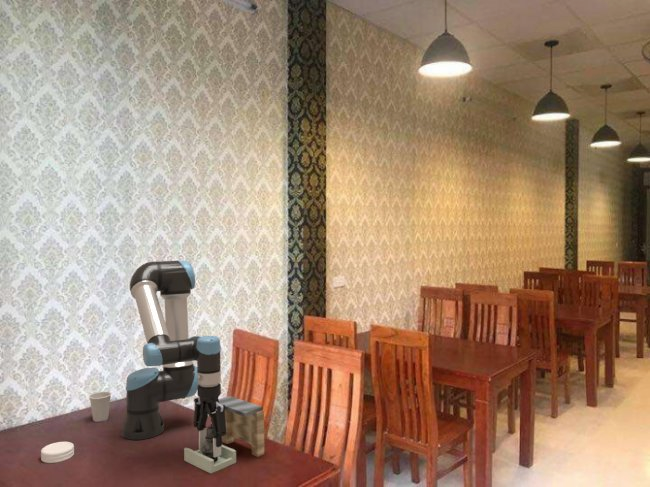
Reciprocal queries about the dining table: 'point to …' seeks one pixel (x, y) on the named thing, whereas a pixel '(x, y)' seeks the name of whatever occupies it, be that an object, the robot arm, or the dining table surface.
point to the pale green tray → (207, 463)
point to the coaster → (57, 452)
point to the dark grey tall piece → (209, 444)
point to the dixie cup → (100, 405)
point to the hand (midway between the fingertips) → (210, 452)
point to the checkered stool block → (244, 423)
